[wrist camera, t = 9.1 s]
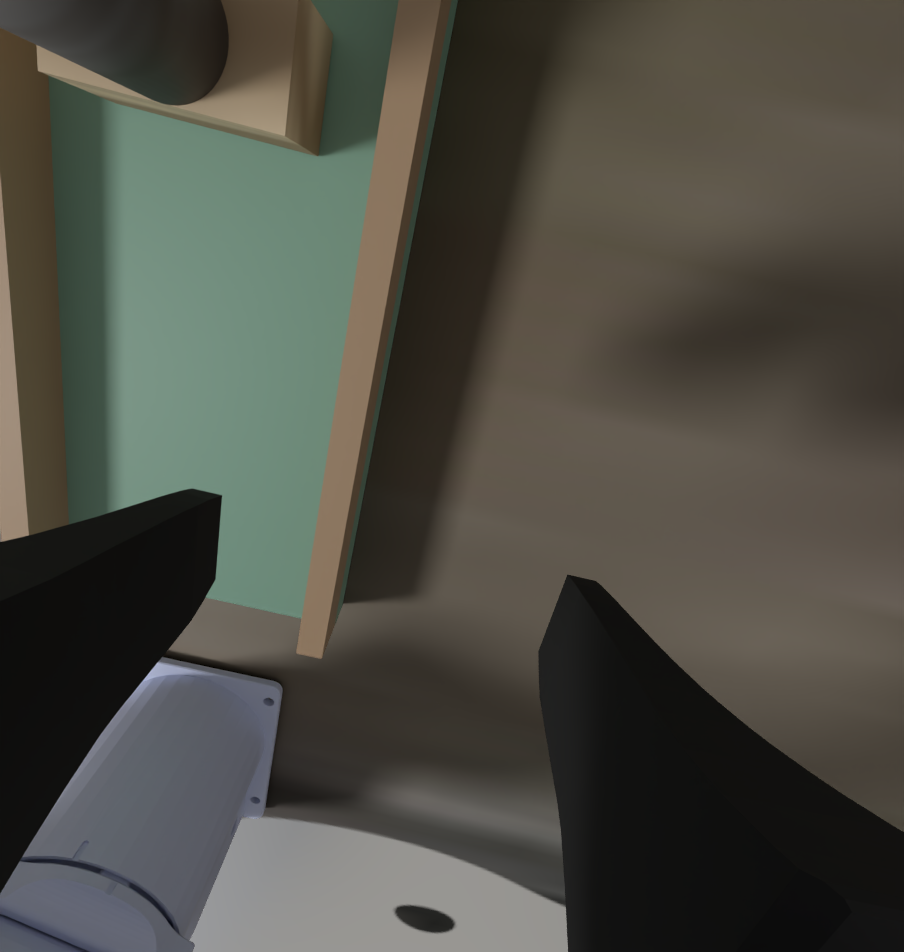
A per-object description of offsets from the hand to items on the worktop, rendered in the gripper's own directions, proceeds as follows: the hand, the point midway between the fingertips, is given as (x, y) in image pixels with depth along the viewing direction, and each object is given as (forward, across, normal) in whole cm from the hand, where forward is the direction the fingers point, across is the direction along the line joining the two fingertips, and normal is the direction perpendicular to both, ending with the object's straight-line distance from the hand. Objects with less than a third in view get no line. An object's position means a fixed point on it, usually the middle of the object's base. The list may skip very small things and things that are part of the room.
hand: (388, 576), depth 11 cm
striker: (+9, +8, -9) cm, 15 cm away
